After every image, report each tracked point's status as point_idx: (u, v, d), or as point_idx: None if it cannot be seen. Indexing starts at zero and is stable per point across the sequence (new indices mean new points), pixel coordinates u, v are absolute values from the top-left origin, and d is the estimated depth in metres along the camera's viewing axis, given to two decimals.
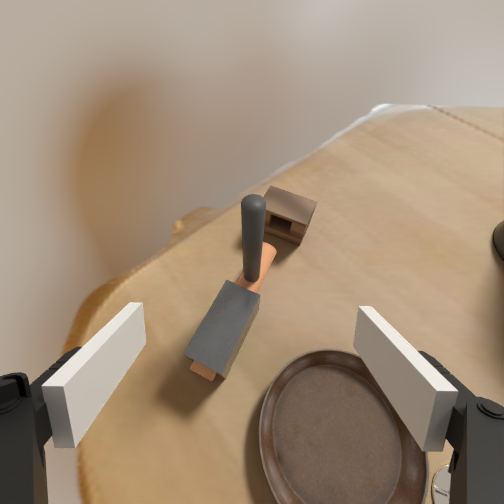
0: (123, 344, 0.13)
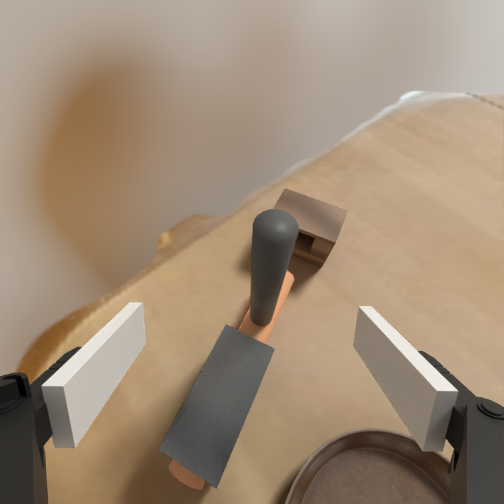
0: (123, 344, 0.13)
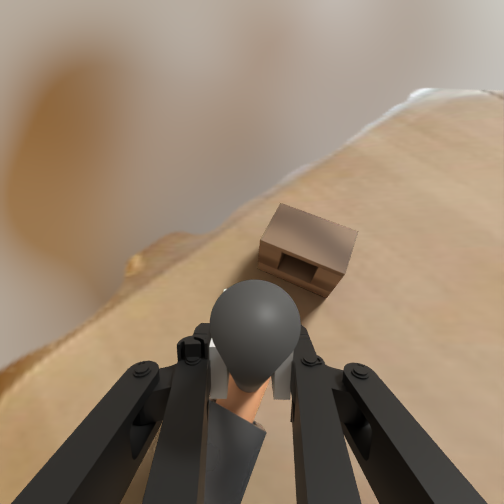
0: None
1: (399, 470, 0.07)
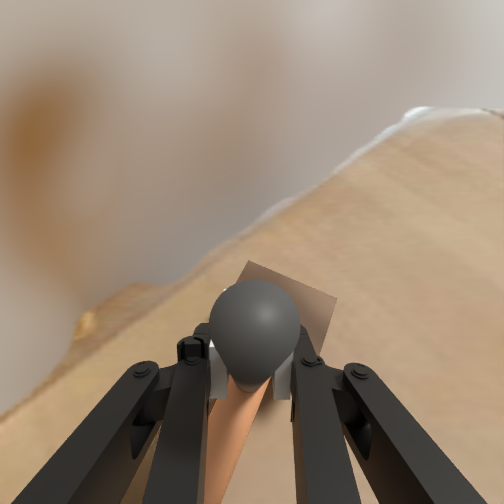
0: None
1: (399, 470, 0.07)
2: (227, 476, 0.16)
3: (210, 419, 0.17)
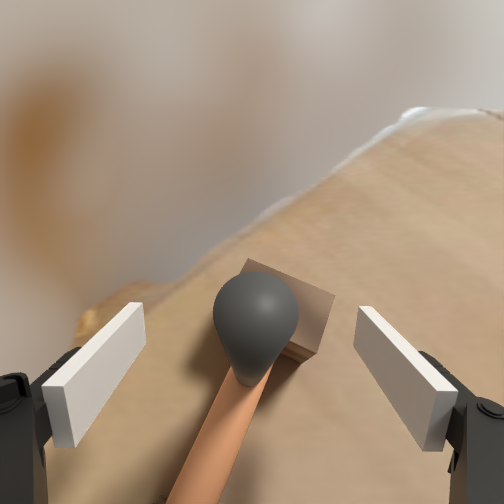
0: (123, 344, 0.13)
1: None
2: (228, 467, 0.16)
3: (211, 412, 0.18)
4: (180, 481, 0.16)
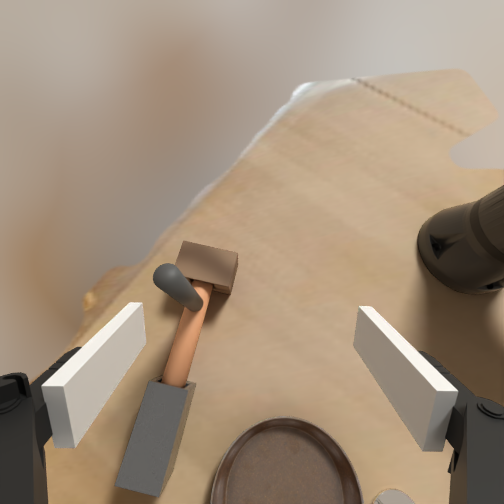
0: (123, 344, 0.13)
1: None
2: (192, 349, 0.32)
3: (178, 328, 0.33)
4: (169, 360, 0.32)
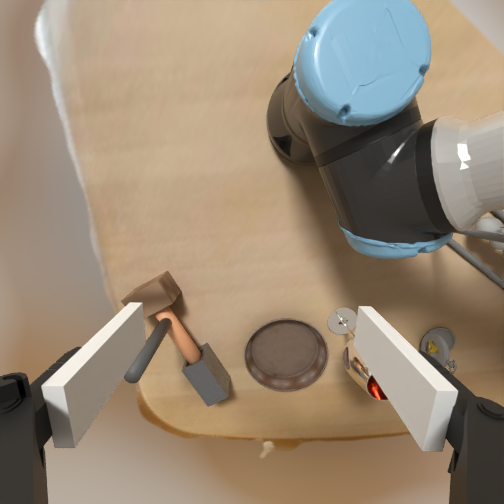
0: (123, 344, 0.13)
1: None
2: (187, 341, 0.50)
3: (171, 338, 0.50)
4: (182, 353, 0.51)
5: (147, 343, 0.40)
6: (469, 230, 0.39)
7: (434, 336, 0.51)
